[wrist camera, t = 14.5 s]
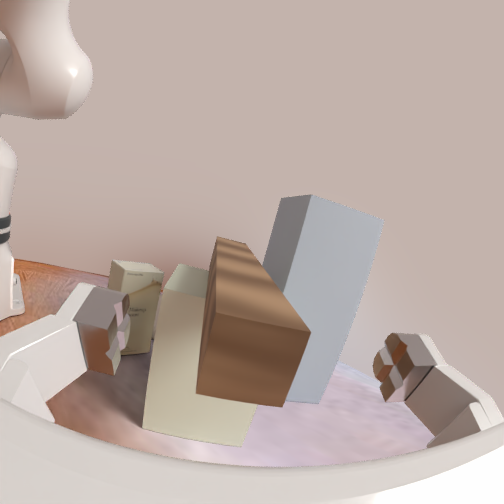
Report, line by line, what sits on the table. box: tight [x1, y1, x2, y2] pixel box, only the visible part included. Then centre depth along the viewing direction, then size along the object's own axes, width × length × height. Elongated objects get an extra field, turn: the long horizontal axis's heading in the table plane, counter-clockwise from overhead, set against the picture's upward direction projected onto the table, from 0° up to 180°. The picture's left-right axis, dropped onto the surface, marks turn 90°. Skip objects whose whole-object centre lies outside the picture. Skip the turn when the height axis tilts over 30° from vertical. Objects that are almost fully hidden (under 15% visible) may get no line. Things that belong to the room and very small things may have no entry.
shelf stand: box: [262, 195, 384, 404], centre depth 42 cm, size 16×10×26 cm, turn 7°
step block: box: [142, 264, 258, 447], centre depth 28 cm, size 10×10×15 cm
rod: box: [196, 237, 311, 407], centre depth 23 cm, size 26×4×4 cm, turn 7°
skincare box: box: [107, 260, 164, 355], centre depth 37 cm, size 6×4×12 cm
